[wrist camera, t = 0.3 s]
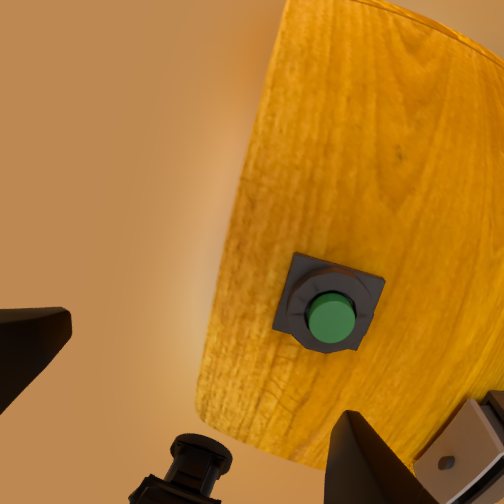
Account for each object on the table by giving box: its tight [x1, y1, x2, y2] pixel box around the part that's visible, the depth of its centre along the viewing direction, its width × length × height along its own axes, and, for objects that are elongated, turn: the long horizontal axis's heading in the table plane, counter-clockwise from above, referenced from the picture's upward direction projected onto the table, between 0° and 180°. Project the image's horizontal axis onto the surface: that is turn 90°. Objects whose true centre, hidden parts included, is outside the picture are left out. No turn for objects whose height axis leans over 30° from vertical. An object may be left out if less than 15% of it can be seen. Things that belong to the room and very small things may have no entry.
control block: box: [272, 252, 386, 353], centre depth 19 cm, size 6×7×2 cm
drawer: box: [413, 399, 504, 504], centre depth 15 cm, size 11×11×9 cm
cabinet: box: [464, 391, 504, 504], centre depth 14 cm, size 11×13×11 cm
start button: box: [309, 293, 355, 343], centre depth 17 cm, size 3×3×2 cm
